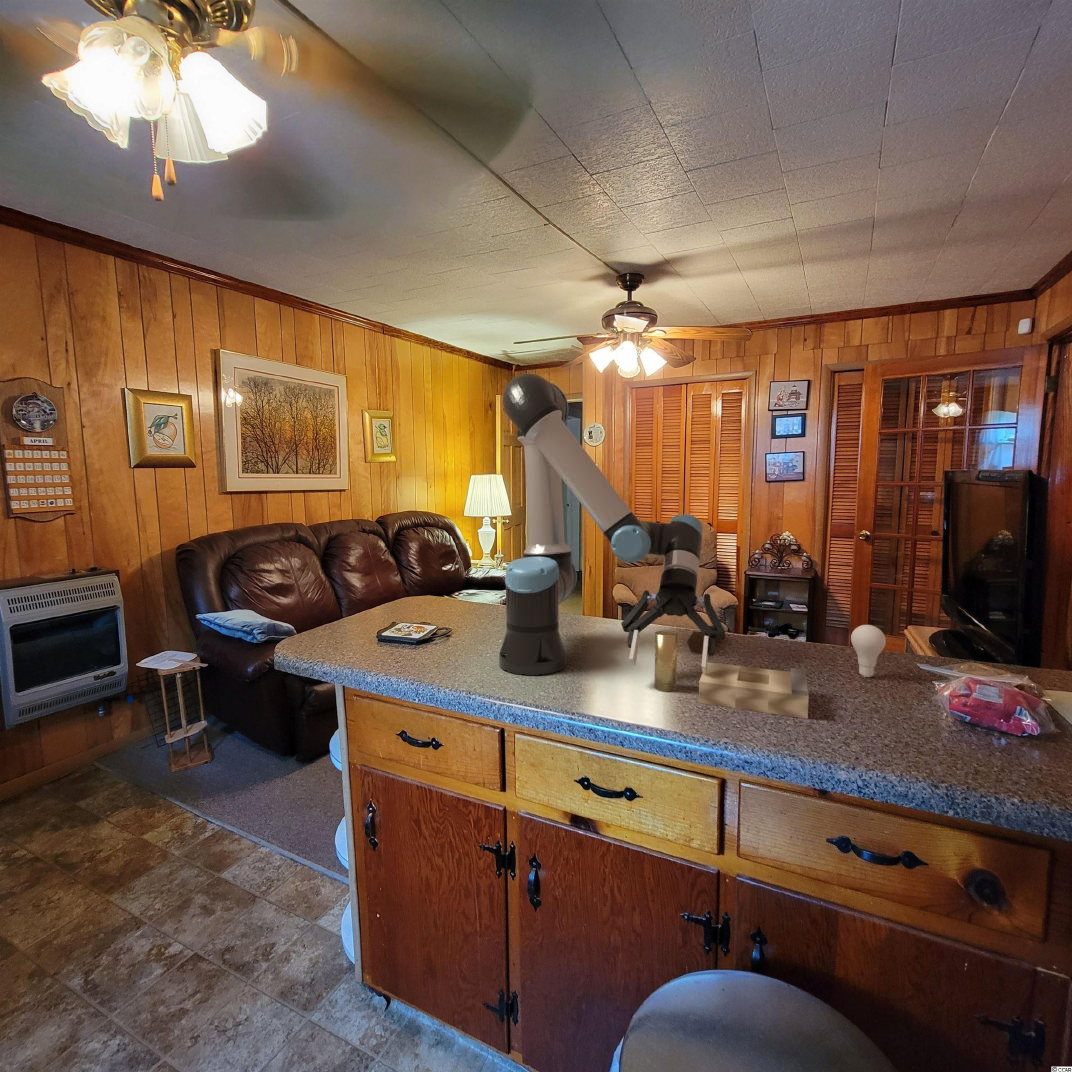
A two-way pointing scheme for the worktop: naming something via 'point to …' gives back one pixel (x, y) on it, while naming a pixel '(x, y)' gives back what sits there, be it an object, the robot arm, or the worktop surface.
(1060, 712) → the worktop surface
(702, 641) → the bolt
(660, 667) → the brass cylinder
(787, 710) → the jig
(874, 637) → the lightbulb
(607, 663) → the worktop surface
